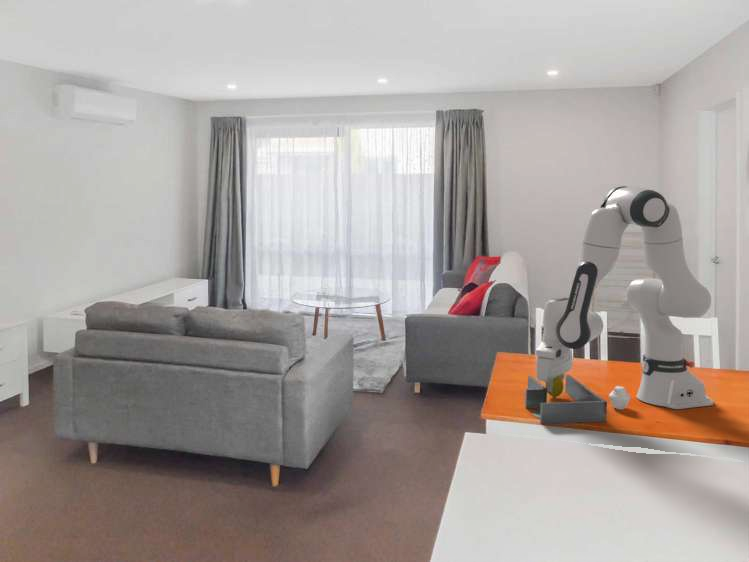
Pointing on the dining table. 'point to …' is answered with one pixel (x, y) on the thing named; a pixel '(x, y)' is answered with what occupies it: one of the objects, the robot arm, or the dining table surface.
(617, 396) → the white rounded piece
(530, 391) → the rail corridor
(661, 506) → the dining table surface
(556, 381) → the lemon
